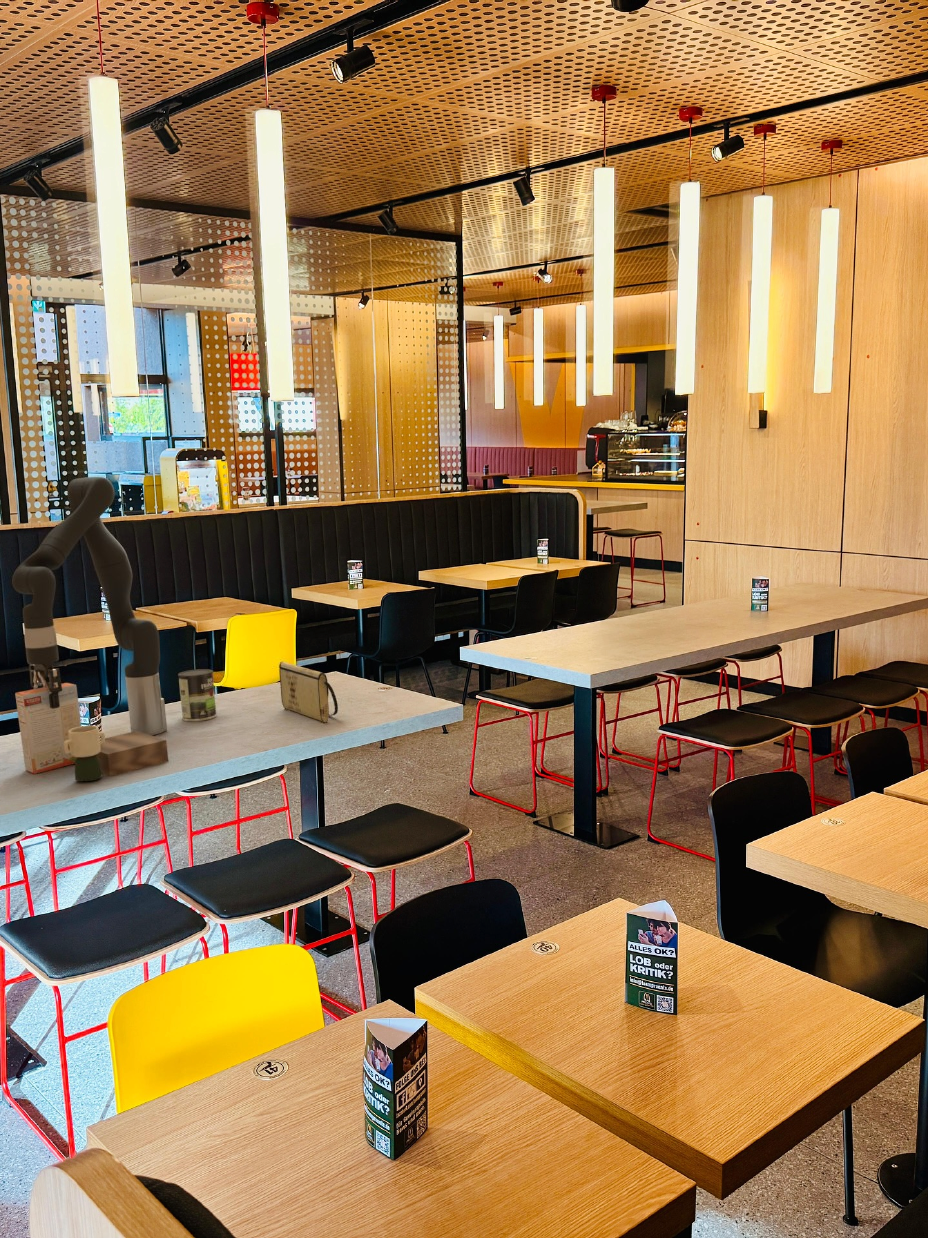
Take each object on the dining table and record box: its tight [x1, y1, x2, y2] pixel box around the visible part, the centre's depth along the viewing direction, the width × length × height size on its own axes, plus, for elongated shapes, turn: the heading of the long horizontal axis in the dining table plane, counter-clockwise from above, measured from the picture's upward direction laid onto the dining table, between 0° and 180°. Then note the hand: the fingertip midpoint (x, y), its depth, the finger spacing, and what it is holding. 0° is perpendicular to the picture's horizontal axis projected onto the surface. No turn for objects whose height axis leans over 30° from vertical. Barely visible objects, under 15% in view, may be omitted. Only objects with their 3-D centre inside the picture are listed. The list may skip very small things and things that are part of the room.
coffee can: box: [177, 668, 218, 722], centre depth 315 cm, size 10×10×14 cm
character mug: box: [64, 725, 106, 782], centre depth 255 cm, size 11×7×13 cm, turn 141°
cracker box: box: [14, 682, 82, 775], centre depth 268 cm, size 14×6×21 cm, turn 134°
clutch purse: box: [278, 661, 339, 724], centre depth 312 cm, size 30×7×15 cm, turn 36°
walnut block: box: [96, 731, 169, 777], centre depth 269 cm, size 16×16×6 cm
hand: (48, 705), depth 268 cm, fingers open, 8 cm apart
